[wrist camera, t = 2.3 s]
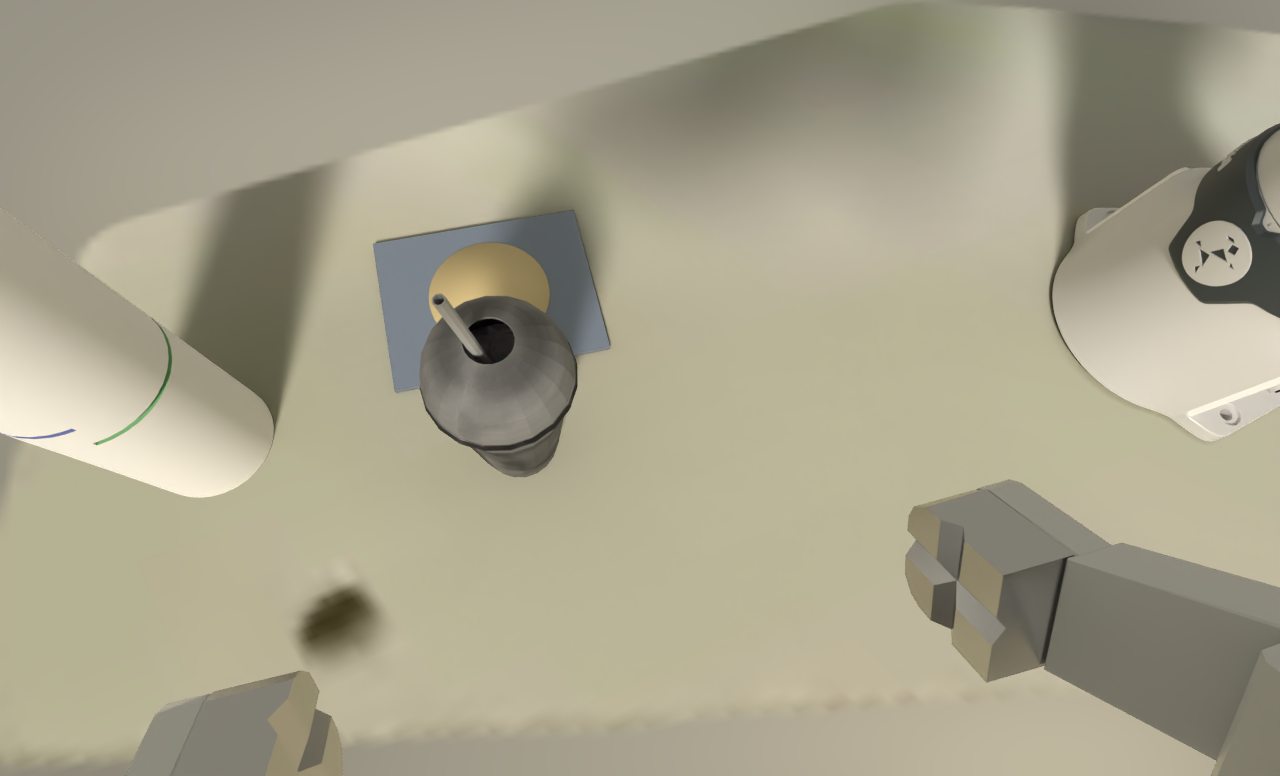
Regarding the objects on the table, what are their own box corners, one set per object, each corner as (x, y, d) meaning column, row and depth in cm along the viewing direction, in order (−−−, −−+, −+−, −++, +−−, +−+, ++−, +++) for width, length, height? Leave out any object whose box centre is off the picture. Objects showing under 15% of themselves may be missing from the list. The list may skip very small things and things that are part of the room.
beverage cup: (599, 465, 41) (614, 326, 22) (492, 521, 39) (412, 421, 21) (546, 369, 43) (520, 169, 24) (442, 419, 41) (328, 244, 23)
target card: (573, 213, 47) (573, 209, 47) (609, 348, 44) (610, 345, 44) (374, 246, 45) (372, 242, 45) (396, 392, 42) (394, 390, 41)
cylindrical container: (148, 395, 40) (-448, 70, 17) (271, 374, 41) (-130, 42, 18) (146, 509, 38) (-546, 313, 15) (276, 483, 39) (-175, 264, 16)
